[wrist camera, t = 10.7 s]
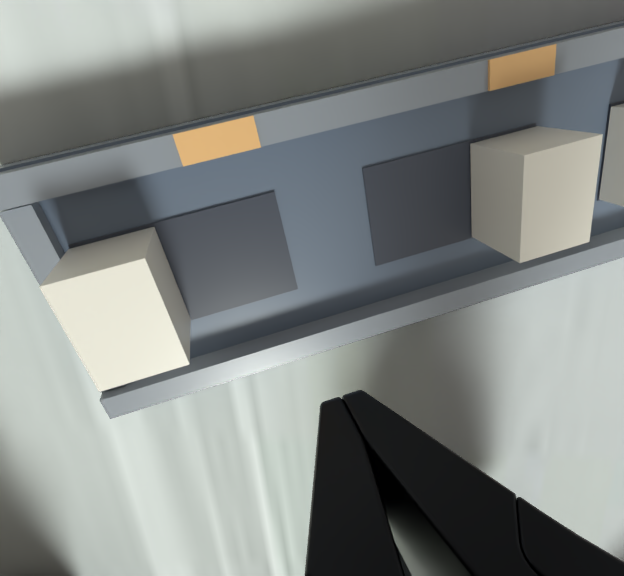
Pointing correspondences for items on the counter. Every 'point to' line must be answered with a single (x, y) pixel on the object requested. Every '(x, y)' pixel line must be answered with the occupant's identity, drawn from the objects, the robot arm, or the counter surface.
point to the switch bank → (323, 205)
